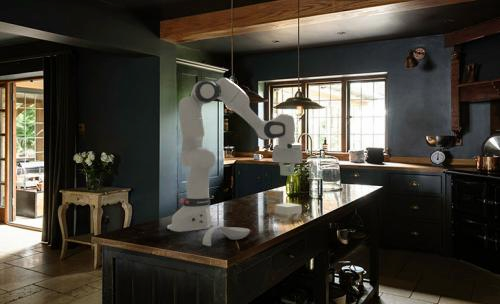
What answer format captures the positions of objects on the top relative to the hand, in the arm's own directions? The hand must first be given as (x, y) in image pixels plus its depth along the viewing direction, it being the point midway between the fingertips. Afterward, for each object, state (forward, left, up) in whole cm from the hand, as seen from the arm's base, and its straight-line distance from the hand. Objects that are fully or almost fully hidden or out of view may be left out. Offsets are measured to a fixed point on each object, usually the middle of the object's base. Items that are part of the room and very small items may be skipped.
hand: (286, 171), depth 218 cm
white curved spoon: (-49, -16, -26) cm, 58 cm away
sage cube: (0, 0, -2) cm, 2 cm away
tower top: (+1, 0, -22) cm, 22 cm away
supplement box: (+6, +17, -26) cm, 31 cm away
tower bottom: (0, 0, -26) cm, 26 cm away
